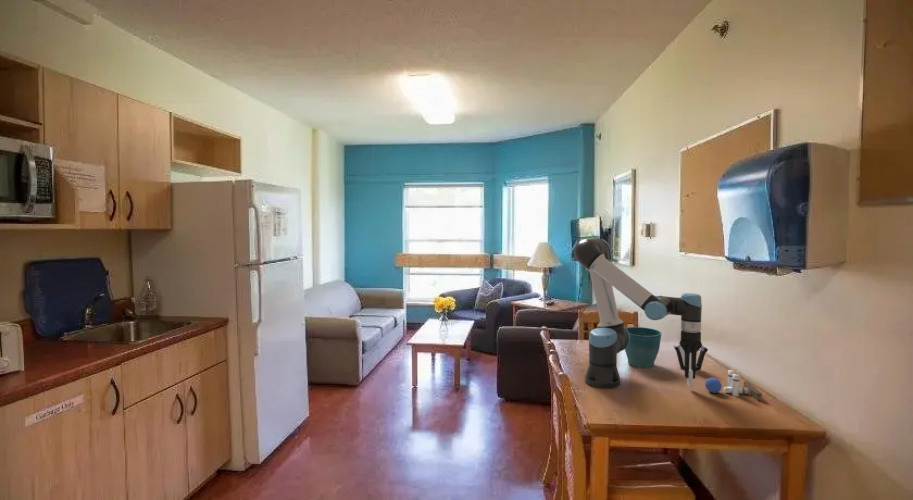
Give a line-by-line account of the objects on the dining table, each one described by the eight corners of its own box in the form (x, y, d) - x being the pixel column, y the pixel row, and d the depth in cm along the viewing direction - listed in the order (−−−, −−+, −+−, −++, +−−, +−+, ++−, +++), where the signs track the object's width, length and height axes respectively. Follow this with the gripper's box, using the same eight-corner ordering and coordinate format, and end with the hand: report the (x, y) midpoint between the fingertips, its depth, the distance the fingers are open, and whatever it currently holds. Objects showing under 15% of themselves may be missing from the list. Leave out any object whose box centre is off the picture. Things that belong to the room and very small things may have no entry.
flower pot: (669, 367, 217) (670, 333, 217) (640, 372, 211) (641, 337, 210) (641, 357, 234) (642, 325, 233) (614, 361, 228) (614, 329, 227)
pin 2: (733, 396, 181) (733, 375, 181) (731, 394, 184) (731, 373, 183) (740, 396, 180) (740, 376, 180) (737, 394, 183) (738, 374, 182)
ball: (726, 387, 181) (717, 398, 183) (722, 380, 187) (713, 391, 189) (713, 378, 182) (703, 389, 184) (709, 372, 188) (700, 383, 190)
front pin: (725, 387, 184) (748, 388, 182) (723, 385, 186) (746, 387, 184) (725, 393, 184) (749, 394, 182) (723, 391, 186) (746, 393, 185)
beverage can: (700, 371, 211) (700, 346, 210) (681, 370, 213) (682, 346, 212) (694, 366, 219) (695, 342, 218) (677, 365, 221) (677, 341, 220)
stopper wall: (757, 400, 176) (757, 393, 176) (743, 388, 190) (743, 381, 190) (761, 401, 176) (762, 393, 176) (747, 388, 189) (747, 381, 189)
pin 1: (728, 391, 186) (729, 371, 185) (726, 389, 188) (727, 369, 188) (735, 392, 185) (736, 372, 185) (733, 390, 188) (733, 370, 187)
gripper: (676, 332, 185) (675, 387, 186) (710, 333, 182) (709, 390, 183) (671, 327, 192) (670, 381, 193) (705, 329, 189) (704, 383, 190)
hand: (689, 385), depth 188 cm, fingers closed
